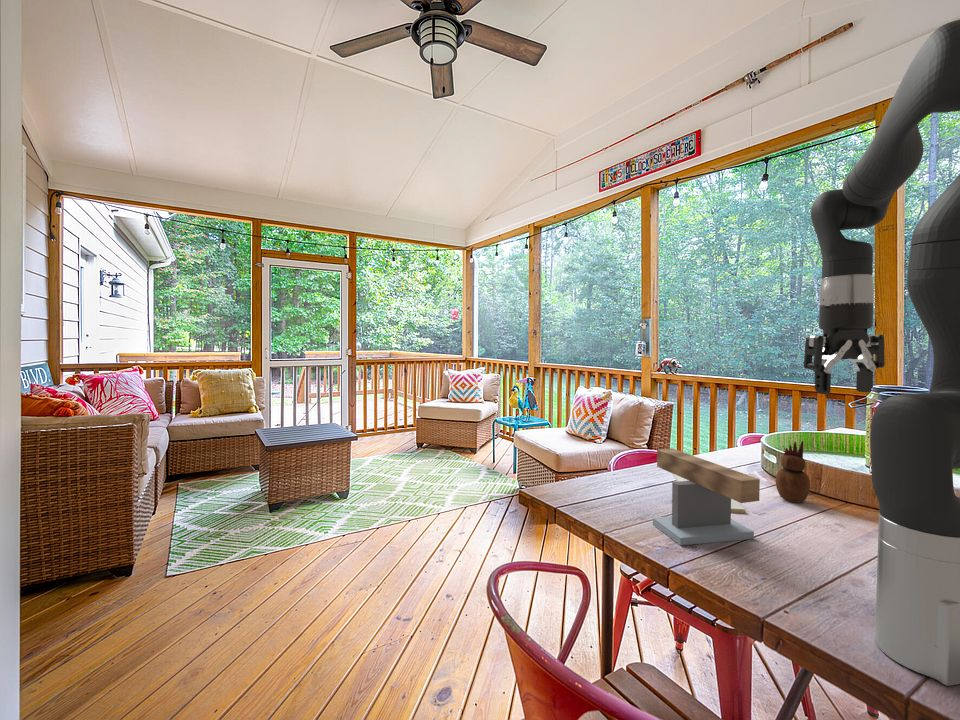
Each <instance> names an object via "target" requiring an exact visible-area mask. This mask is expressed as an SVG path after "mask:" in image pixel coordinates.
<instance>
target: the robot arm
mask: <svg viewBox="0 0 960 720" xmlns="http://www.w3.org/2000/svg"><path fill="white" fill-rule="evenodd" d="M953 112H960V19H956V20H952V21H950V22H947V23H944V24H943V25H941V26H939V27H938V28H937V29H935V30H934V31H933V32H932V33H931V34H930V36H928V37H927V38H926V40H925V41H924V42H923V43H922V45H921V46H920V48H919V49H918V51H917V53H915V55H914V57H913V58H912V60H911V62H910V64H909V65H908V68H907V69H906V72H905V73H904V75H903V77H902V79H901V81H900V84H899V85H898V87H897V89H896V91H895V92H894V95H893V96H892V98H891V101H890V103H889V105H888V108H887V109H886V111H885V113H884V115H883V118H882V120H881V122H880V124H879V125H878V128H877V130H876V132H875V134H874V137H873V139H872V141H871V142H870V144H869V146H868V147H867V148H866V150H865V152H864V153H863V154H862V155H861V157H860V158H859V159H858V160H857V162H856V163H855V164H854V166H853V167H852V169H850V171H849V172H848V174H847V175H846V176H845V179H844V180H843V184H842V188H841V189H830V190H827V191H823V192H822V193H820V194H819V195H818V196H816V198H815V199H814V201H813V202H812V205H811V209H810V219H811V223H812V227H813V231H814V232H815V235H816V238H817V240H818V245H819V248H820V249H819V250H820V254H821V281H820V282H821V283H820V288H819V302H818V303H819V304H818V306H819V307H818V308H819V310H818V311H819V312H818V328H819V329H820V330H822V335H816V334H815V335H807V336H806V337H805V342H804V356H803V368H804V369H805V370H810V371H812V372H814V390H815V391H816V394H820V395H830V394H831V384H832V383H831V381H832V373H830V371H832V369H833V368H834V366H835V364H838V363H839V362H840V361H841V360H849V362H851V363H853V364H854V366H855V368H856V369H857V371H856V382H855V383H856V384H855V385H856V388H855V389H856V391H857V392H860V393H871V392H872V389H873V385H874V380H873V379H874V372H875V371H876V370H877V369H879V368H880V369H882V368H884V367H885V365H886V363H885V360H886V359H885V336H884V335H883V334H868V329H872V328H873V326H874V301H875V300H874V298H875V297H874V295H875V287H874V286H875V285H874V279H873V273H874V271H873V265H874V262H873V261H874V248H873V245H872V244H871V243H869V242H867V241H862V240H861V241H860V240H854V239H849V238H846V237H845V236H844V234H843V233H842V231H847V230H861V229H868V228H871V227H873V226H876V225H878V224H880V223H881V222H882V221H883V220H884V219H885V217H886V215H887V213H888V209H889V206H890V203H891V201H892V199H893V196H894V194H895V193H896V192H897V191H898V190H899V188H901V187H902V186H903V184H905V183H906V182H907V180H909V178H911V177H912V176H913V174H914V173H915V171H916V170H918V168H919V165H920V164H921V162H922V159H923V155H924V143H923V139H922V135H921V133H920V129H919V123H920V122H922V121H923V120H924V119H925V118H926V117H927V116H929V115H931V114H934V113H935V114H938V113H940V114H945V113H953ZM907 266H908V267H907V275H906V285H907V291H908V294H909V297H910V301H911V303H912V305H913V307H914V309H915V311H916V314H917V315H918V317H919V319H920V321H921V323H922V325H923V327H924V329H925V330H926V332H927V335H928V337H929V339H930V343H931V347H932V352H933V366H932V367H933V368H932V378H931V384H930V388H929V392H928V393H925V392H924V393H903V394H896V395H893V396H889V397H888V398H887V397H886V398H885V399H884V400H882V401H881V402H880V403H879V404H878V406H877V407H876V408H875V410H874V413H873V415H872V417H871V422H870V432H869V433H870V435H869V436H870V437H869V439H870V440H869V441H870V443H869V444H870V445H869V446H870V466H871V484H872V489H873V491H874V494H875V496H876V498H877V500H878V533H877V535H878V536H877V561H876V562H877V563H876V565H877V566H876V593H875V594H876V595H875V599H876V600H875V601H876V602H875V629H874V631H875V633H874V635H875V636H874V639H875V641H874V642H875V643H876V645H877V647H878V648H879V649H880V650H881V651H882V652H883V653H884V654H885V655H886V656H888V657H889V658H890V659H891V660H893V661H895V662H896V663H898V664H900V665H902V666H904V667H905V668H907V669H910V670H911V671H914V672H916V673H918V674H921V675H923V676H927V677H929V678H932V679H934V680H937V681H938V682H940V683H941V684H943V685H945V686H947V687H948V686H949V687H950V686H955V685H956V686H957V685H960V496H959V497H958V496H957V495H956V493H955V489H954V488H955V487H954V472H953V470H956V469H957V470H958V469H959V470H960V173H959V174H958V175H957V176H956V178H955V179H954V180H953V181H952V182H951V183H950V185H948V186H947V188H946V189H945V190H944V191H943V192H942V193H941V194H940V195H939V196H938V198H937V199H935V201H934V202H933V203H932V204H931V206H930V207H928V209H927V210H926V211H925V212H924V214H923V215H922V217H921V218H920V219H919V221H918V222H917V224H916V225H915V227H914V229H913V232H912V235H911V240H910V248H909V256H908V265H907ZM874 355H876V356H875V359H876V360H874Z"/></svg>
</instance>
